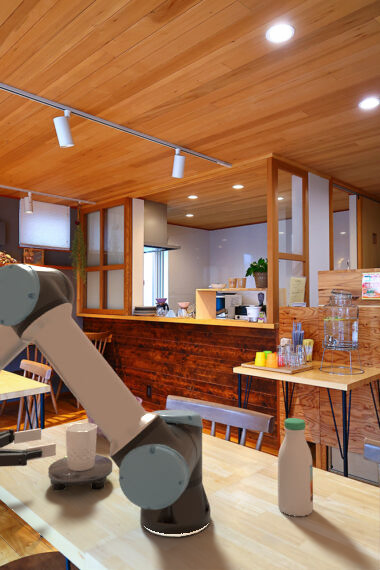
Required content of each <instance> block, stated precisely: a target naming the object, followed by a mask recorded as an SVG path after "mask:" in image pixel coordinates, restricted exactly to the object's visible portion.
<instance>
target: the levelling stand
mask: <svg viewBox="0 0 380 570" xmlns="http://www.w3.org/2000/svg"><path fill="white" fill-rule="evenodd" d="M112 472H113V460H112V459H111V458H109V457H106V456H104V455H100V454H95V465H94V467H92V468H91V469H88V470H84V471H73V470H70V469H68V460H67V455H65V456H63V458H59V459H57V460H56V461H54V462H52V463H51V464H50V465H49V467H48V475H47V476H48V478H49V480H50V481H49V482H50V485H52V491H54V492H62V491H65V490H66V489H67V486H68V485H70V486H72V485H73V486H74V485H78V486H79V485H85V484H90V485H91V490H93V491H100V490H101V491H102V490H103V489H105V483H106V482H107V481H108V476H110V475H111V474H112Z"/></svg>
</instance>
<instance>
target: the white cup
mask: <svg viewBox="0 0 380 570" xmlns="http://www.w3.org/2000/svg"><path fill="white" fill-rule="evenodd" d="M97 435H98V434H97V425H95V424H93V423H89V422H78V423H72V424H70V425H67V426H66V427H65V445H66V446H65V448H66V450H65V451H66V456H67V460H68V469H70V470H73V471H84V470H88V469H91V468H92V467H94V465H95V455H97V454H96V452H97V451H96V450H97Z"/></svg>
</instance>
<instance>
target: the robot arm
mask: <svg viewBox="0 0 380 570" xmlns="http://www.w3.org/2000/svg"><path fill="white" fill-rule="evenodd" d="M74 299H75V290H74V285H73V283H72V280H70V278H69V277H68V275H66V274H65V273H63V272H62V271H60V270H58V269H56V268H52V267H44V266H39V265H38V266H36V265H31V264H27V263H21V262H20V263H9V264H5V265H2V266H0V372H2V371H3V370H4V369H5V367H7V366H8V365H9V364H10V363H11V362H12V361H13V360H14V359H15V358H16V357H17V356H18V355H19V354H20V353H22V351H23V350H25V349H26V348H27V346H29V345H30V344H33V345H35V346H36V348H37V349H38V350H39V352H40V353H41V354H42V356H43V357H44V358H45V359H46V362H48V363H49V365H51V366H50V367H52V368H53V369H54V371H55V372H56V373H57V375H58V376H59V377H60V379H61V380H62V382H64V384H65V386H66V387H67V388H68V389H69V391H70V392H71V393H72V394H73V396H74V397H75V398H76V400H77V401H78V402H79V404H80V405H81V407H83V409H84V410H85V412H86V411H87V413H88V414H89V415H90V417H91V418H92V419H93V421H94V422H95V423H96V424H97V426H98V427H99V428H100V430H101V431H102V432H103V434H104V435H105V436H106V437H105V438H106V439H107V440H108V441H109V444H110V445H109V447H110V448H109V454H108V455H109V457H110V459H111V461H112V462H113V463H114V464H115V465H116V466H117V468H118V482H119V487H120V489H121V491H122V493H123V495H124V496H125V497H126V499H127V500H128V501H129V502H131V503H132V504H134V505H135V506H137V507H138V508H140V513H139V514H140V519H139V521H140V522H139V523H140V525H141V527H143V526H145V527H146V528H148V529H150V530H152V531H155V532H159V533H164V534H181V533H182V534H183V533H190V532H193V531H196V530H199V529H201V528H203V527H204V526H206V525H207V524H208V523H209V521H210V522H211V506H210V503H209V499H208V495H207V493H206V489H205V488H204V484H203V429H204V425H203V418H202V415H201V414H200V413H198V412H196V411H193V410H182V409H181V410H180V409H163V410H160V409H159V410H155V411H152V412H149V411H147V410H146V409H145V408H144V407H143V405H142V404H140V403H139V402H138V401H137V399H136V398H135V397H136V396H135V395H134V394H133V393H132V392H131V390H130V389H129V388H128V386H126V384H125V383H124V382H123V380H122V379H121V378H120V377H119V375H118V374H117V373H116V371H114V369H113V367H112V366H111V365H110V364H109V363H108V361H107V360H106V359H105V358H104V356H103V355H102V354H101V352H100V351H99V350H98V349H97V347H96V346H95V345H94V344H93V342H92V341H91V340H90V339H89V338H88V336H87V335H86V333H84V331H83V329H81V328H80V326H79V325H78V323H77V322H76V321H75V320H74V318H73V317H72V312H73V304H74ZM134 396H135V397H134ZM39 440H42V428H41V427H40V428H33V429H27V430H22V431H15V432H14V428H10V429H8V430H4V431H1V432H0V467H1V468H2V467H21V466H22V467H26V466H27V465H28V461H33V460H38V459H39V460H40V459H44V458H50V457H55V456H56V450H57V449H56V447H57V446H56V445H57V443H56V442H52V443H46V444H41V445H35V446H34V445H33V446H30V447H29V446H28V447H26V448H25V449H18V448H17V449H13V448H4V447H6V446H8V445H11V444H12V443H13V444H21V443H28V442H29V443H30V442H33V441H39ZM209 524H210V523H209Z"/></svg>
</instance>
